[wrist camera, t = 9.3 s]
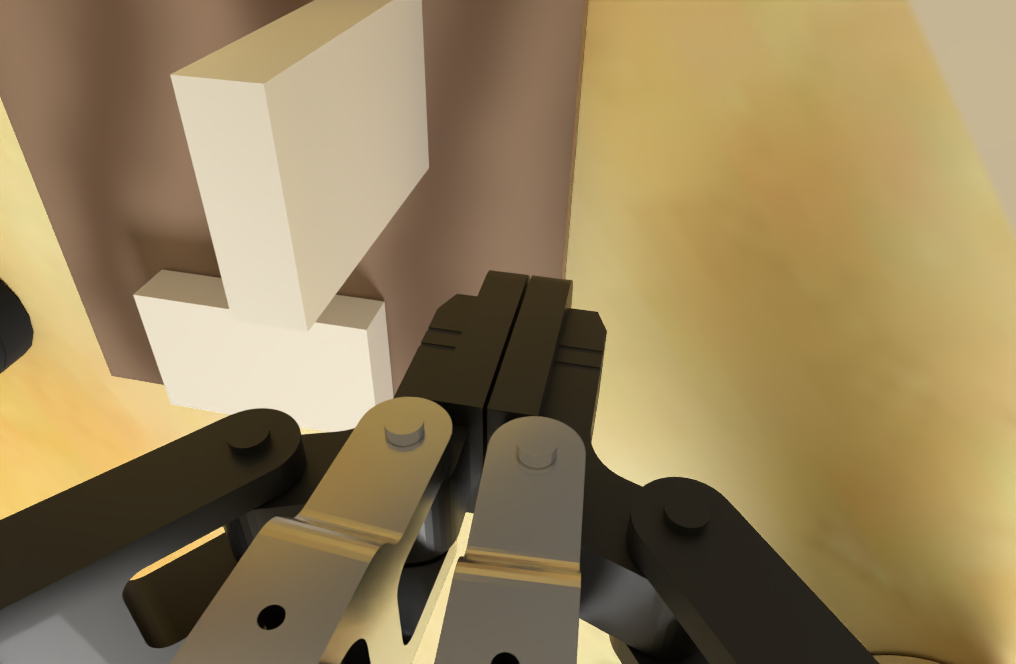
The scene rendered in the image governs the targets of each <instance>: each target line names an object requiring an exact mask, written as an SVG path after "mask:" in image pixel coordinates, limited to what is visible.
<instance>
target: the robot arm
mask: <svg viewBox="0 0 1016 664" xmlns="http://www.w3.org/2000/svg"><path fill="white" fill-rule="evenodd" d="M572 290H573V281H572V280H566V279H558V278H550V277H542V276H534V275H532V276H531V279H530V275H525V274H517V273H509V272H501V271H493V270H489V271H488V273H487V275H486V277H485V279H484V282H483V284H482V286H481V289H480V291H479V293H478V296H471V295H464V294H456V295H455V296H453V297H452V298H451V299H449V300H448V301H447V302H445V303H444V304H443V305H441V306H440V307H439V308H438V309H437V311H436V313H435V315H434V317H433V319H432V321H431V323H430V325H429V327H428V331H426V333H425V335H424V337H423V339H422V341H421V346H419V347H418V349H417V351H416V353H415V355H414V357H413V359H412V361H411V363H410V365H409V367H408V369H407V371H406V373H405V375H404V377H403V379H402V382H401V384H400V386H399V388H398V390H397V392H396V394H395V396H394V398H393V399H390V400H387V401H384V402H382V403H379V404H377V405H376V406H374V407H373V408H371V409H370V410H369V411H367V412H366V413H365V414H364V416H363V417H362V418H361V419H360V421H359V423H358V424H357V426H356V427H355V428H353V429H349V430H345V431H338V432H327V433H316V434H305V435H301V432H300V428H299V425H298V424H297V422H296V421H295V420H294V419H293V418H292V417H291V416H290V415H288V414H286V413H285V412H282V411H279V410H275V409H268V408H256V409H249V410H244V411H241V412H237V413H235V414H232V415H230V416H228V417H225V418H223V419H221V420H219V421H217V422H214V423H212V424H210V425H208V426H206V427H203V428H201V429H199V430H197V431H195V432H193V433H190V434H188V435H186V436H184V437H182V438H179V439H177V440H175V441H173V442H171V443H168V444H166V445H164V446H162V447H160V448H157V449H155V450H153V451H151V452H149V453H146V454H144V455H142V456H140V457H138V458H136V459H133V460H131V461H129V462H127V463H125V464H122V465H120V466H118V467H116V468H114V469H111V470H109V471H107V472H105V473H103V474H100V475H98V476H96V477H94V478H92V479H89V480H87V481H85V482H83V483H81V484H79V485H76V486H74V487H72V488H70V489H68V490H65V491H63V492H61V493H59V494H57V495H54V496H52V497H50V498H48V499H46V500H43V501H41V502H39V503H37V504H35V505H32V506H30V507H28V508H26V509H24V510H22V511H19V512H17V513H15V514H13V515H11V516H8V517H6V518H4V519H2V520H0V664H412V663H413V660H414V657H415V654H416V651H417V649H418V647H419V644H420V642H421V639H422V637H423V634H424V632H425V629H426V627H427V624H428V622H429V619H430V617H431V614H432V612H433V610H434V607H435V605H436V602H437V600H438V597H439V595H440V592H441V590H442V587H443V585H444V582H445V580H446V577H447V575H448V573H449V570H450V568H451V565H452V563H453V560H454V558H455V555H456V551H457V537H458V534H459V532H460V528H461V525H462V522H463V519H464V516H465V513H466V512H469V513H474V515H473V520H472V525H471V530H470V534H469V539H468V544H467V549H466V553H465V556H464V557H462V556H461V557H459V559H458V561H457V564H456V567H455V571H454V575H453V579H452V584H451V589H450V593H449V598H448V603H447V607H446V612H445V616H444V621H443V626H442V630H441V635H440V639H439V644H438V649H437V653H436V658H435V662H434V664H577V646H578V628H579V618H580V619H582V620H584V621H586V622H588V623H589V624H591V625H593V626H595V627H597V628H598V629H600V630H602V631H604V632H606V633H608V634H609V637H610V641H611V644H612V647H613V649H614V651H615V653H616V655H617V656H618V658H619V659H620V661H621V663H622V664H940V663H937V662H934V661H930V660H925V659H920V658H915V657H906V656H895V655H877V656H872V655H871V654H870V653H869V652H868V651H867V650H866V648H865V647H864V646H863V645H862V644H861V643H860V642H859V641H858V640H857V639H856V638H855V637H854V636H853V634H852V633H851V632H850V631H849V630H848V629H847V628H846V627H845V626H844V625H843V624H842V623H841V622H840V620H839V619H838V618H837V617H836V616H835V615H834V614H833V613H832V612H831V611H830V610H829V609H828V608H827V606H826V605H825V604H824V603H823V602H822V601H821V600H820V599H819V598H818V597H817V596H816V595H815V594H814V592H813V591H812V590H811V589H810V588H809V587H808V586H807V585H806V584H805V583H804V582H803V581H802V580H801V578H800V577H799V576H798V575H797V574H796V573H795V572H794V571H793V570H792V569H791V568H790V567H789V566H788V564H787V563H786V562H785V561H784V560H783V559H782V558H781V557H780V556H779V555H778V554H777V553H776V552H775V551H774V549H773V548H772V547H771V546H770V545H769V544H768V543H767V542H766V541H765V540H764V539H763V538H762V537H761V535H760V534H759V533H758V532H757V531H756V530H755V529H754V528H753V527H752V526H751V525H750V524H749V523H748V521H747V520H746V519H745V518H744V517H743V516H742V515H741V514H740V513H739V512H738V511H737V510H736V509H735V507H734V506H733V505H732V504H731V503H730V502H729V501H728V500H727V499H726V498H725V497H724V496H723V495H722V494H721V493H719V492H718V491H716V490H715V489H714V488H712V487H710V486H708V485H706V484H704V483H702V482H699V481H696V480H692V479H689V478H682V477H667V478H661V479H657V480H654V481H652V482H650V483H648V484H646V485H645V486H644V487H642V486H640V485H637V484H635V483H633V482H631V481H628V480H626V479H624V478H622V477H620V476H618V475H617V474H615V473H614V472H612V471H611V470H609V469H608V468H607V467H606V466H605V465H604V464H603V463H602V462H601V461H600V459H599V458H598V457H597V455H596V453H595V452H594V449H593V447H592V444H591V442H592V435H593V429H594V423H595V416H596V410H597V403H598V397H599V389H600V381H601V373H602V365H603V358H604V350H605V342H606V334H607V330H606V328H605V326H604V324H603V322H602V320H601V318H600V316H599V314H598V312H594V311H586V310H579V309H571V302H572ZM222 526H223V527H224V530H225V533H223V534H221V535H220V536H218V537H216V538H214V539H212V540H210V541H208V542H207V543H205V544H203V545H201V546H199V547H197V548H196V549H194V550H192V551H190V552H188V553H186V554H185V555H183V556H181V557H179V558H177V559H175V560H173V561H172V562H170V563H168V564H166V565H164V566H162V567H161V568H159V569H157V570H155V571H153V572H151V573H150V574H148V575H146V576H144V577H142V578H139V579H135V580H130V579H131V578H132V577H133V576H134V575H135V574H136V573H137V572H139V571H140V570H142V569H144V568H145V567H147V566H149V565H151V564H153V563H155V562H156V561H158V560H160V559H162V558H164V557H166V556H168V555H169V554H171V553H173V552H175V551H177V550H179V549H181V548H183V547H184V546H186V545H188V544H190V543H192V542H194V541H196V540H197V539H199V538H201V537H203V536H205V535H207V534H209V533H210V532H212V531H214V530H216V529H218V528H220V527H222ZM129 580H130V581H129Z"/></svg>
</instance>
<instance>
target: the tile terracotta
mask: <svg viewBox="0 0 1016 664" xmlns="http://www.w3.org/2000/svg"><path fill="white" fill-rule="evenodd" d="M170 76H171V80H172V84H173V88H174V92H175V96H176V100H177V104H178V108H179V112H180V116H181V119H182V123H183V127H184V131H185V135H186V139H187V143H188V147H189V151H190V155H191V159H192V163H193V167H194V171H195V175H196V179H197V183H198V187H199V191H200V195H201V199H202V203H203V206H204V210H205V214H206V218H207V222H208V226H209V230H210V234H211V238H212V242H213V246H214V250H215V254H216V258H217V262H218V266H219V270H220V274H221V278H222V282H223V286H224V289H225V293H226V297H227V301H228V305H229V309H230V313H231V317H232V320H233V321H239V322H246V323H252V324H259V325H265V326H272V327H278V328H285V329H291V330H298V331H304V332H308V331H309V330H310V328H311V327H312V326H313V324H314V323H315V322H316V320H317V319H318V318H319V316H320V315H321V313H322V312H323V311H324V309H325V308H326V307H327V305H328V304H329V303H330V301H331V300H332V299H333V297H334V296H335V295H336V293H337V292H338V290H339V289H340V288H341V286H342V285H343V284H344V282H345V281H346V280H347V278H348V277H349V276H350V274H351V273H352V271H353V270H354V269H355V267H356V266H357V265H358V263H359V262H360V261H361V259H362V258H363V257H364V255H365V254H366V253H367V251H368V250H369V248H370V247H371V246H372V244H373V243H374V242H375V240H376V239H377V238H378V236H379V235H380V234H381V232H382V231H383V229H384V228H385V227H386V225H387V224H388V223H389V221H390V220H391V219H392V217H393V216H394V215H395V213H396V212H397V211H398V209H399V208H400V206H401V205H402V204H403V202H404V201H405V200H406V198H407V197H408V196H409V194H410V193H411V192H412V190H413V189H414V188H415V186H416V185H417V183H418V182H419V181H420V179H421V178H422V177H423V175H424V174H425V173H426V171H427V170H428V169H429V154H428V131H427V109H426V86H425V64H424V42H423V19H422V0H314V1H312V2H310V3H308V4H306V5H304V6H302V7H300V8H299V9H297V10H295V11H293V12H291V13H289V14H287V15H285V16H283V17H281V18H279V19H277V20H275V21H273V22H271V23H269V24H267V25H266V26H264V27H262V28H260V29H258V30H256V31H254V32H252V33H250V34H248V35H246V36H244V37H242V38H240V39H238V40H236V41H234V42H233V43H231V44H229V45H227V46H225V47H223V48H221V49H219V50H217V51H215V52H213V53H211V54H209V55H207V56H205V57H203V58H201V59H200V60H198V61H196V62H194V63H192V64H190V65H188V66H186V67H184V68H182V69H180V70H178V71H176V72H174V73H172V74H170Z"/></svg>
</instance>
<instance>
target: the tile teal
mask: <svg viewBox="0 0 1016 664" xmlns="http://www.w3.org/2000/svg"><path fill="white" fill-rule="evenodd" d="M133 296H134V299H135V302H136V305H137V307H138V310H139V313H140V316H141V319H142V322H143V325H144V328H145V331H146V333H147V336H148V339H149V342H150V345H151V348H152V351H153V354H154V357H155V360H156V362H157V365H158V368H159V371H160V374H161V377H162V380H163V383H164V386H165V388H166V391H167V394H168V397H169V400H170V403H171V404H172V405H178V406H183V407H189V408H195V409H200V410H206V411H212V412H217V413H223V414H229V415H232V414H235V413H237V412H241V411H244V410H249V409H256V408H268V409H275V410H279V411H282V412H285V413H286V414H288V415H290V416H291V417H292V418H293V419H294V420H295V421H296V422H297V424H298V425H299V427H303V428H308V429H314V430H320V431H326V432H338V431H345V430H349V429H353V428H355V427H356V426H357V424H358V423H359V421H360V419H361V418H362V417H363V416H364V414H365V413H366V412H367V411H369V410H370V409H371V408H373V407H374V406H376V405H377V404H379V403H382V402H384V401H387V400H390V399H393V398H394V397H393V386H392V376H391V365H390V355H389V344H388V334H387V323H386V313H385V302H384V301H377V300H370V299H363V298H356V297H349V296H342V295H335V296H334V297H333V299H332V300H331V301H330V303H329V304H328V305H327V307H326V308H325V309H324V311H323V312H322V313H321V315H320V316H319V318H318V319H317V320H316V322H315V323H314V324H313V326H312V327H311V328H310V330H309V331H308V332H304V331H298V330H291V329H285V328H278V327H272V326H265V325H259V324H252V323H246V322H239V321H233V320H232V317H231V313H230V309H229V305H228V301H227V297H226V293H225V289H224V286H223V282H222V278H218V277H211V276H204V275H197V274H190V273H183V272H176V271H169V270H161V271H160V272H159V273H157V274H156V275H155V276H154V277H153V278H152V279H151V280H149V281H148V282H147V283H146V284H145V285H144V286H143V287H141V288H140V289H139V290H138V291H137V292H136V293H134V294H133Z"/></svg>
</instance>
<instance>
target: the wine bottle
mask: <svg viewBox="0 0 1016 664" xmlns="http://www.w3.org/2000/svg"><path fill="white" fill-rule="evenodd" d="M32 340H33V329H32V325H31V322H30V318H29V316H28V314H27V312H26V311H25V309H24V307H23V306H22V304H21V302H20V301H19V300H18V298H17V297H16V296H15V295H14V294H13V293H12V292H11V291H10V289H9V288H8V287H7V286H6V285H5V284H4V283H2V282H1V281H0V374H1V373H2V372H3V371H4V370H5V369H7V368H8V367H9V366H10V365H12V364H13V363H14V362H15V361H17V360H18V359H19V358H20V357H21V356H23V355H24V354H25V353H26V351H27V350H28V349H29V348H30V347H31V346H32Z"/></svg>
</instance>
